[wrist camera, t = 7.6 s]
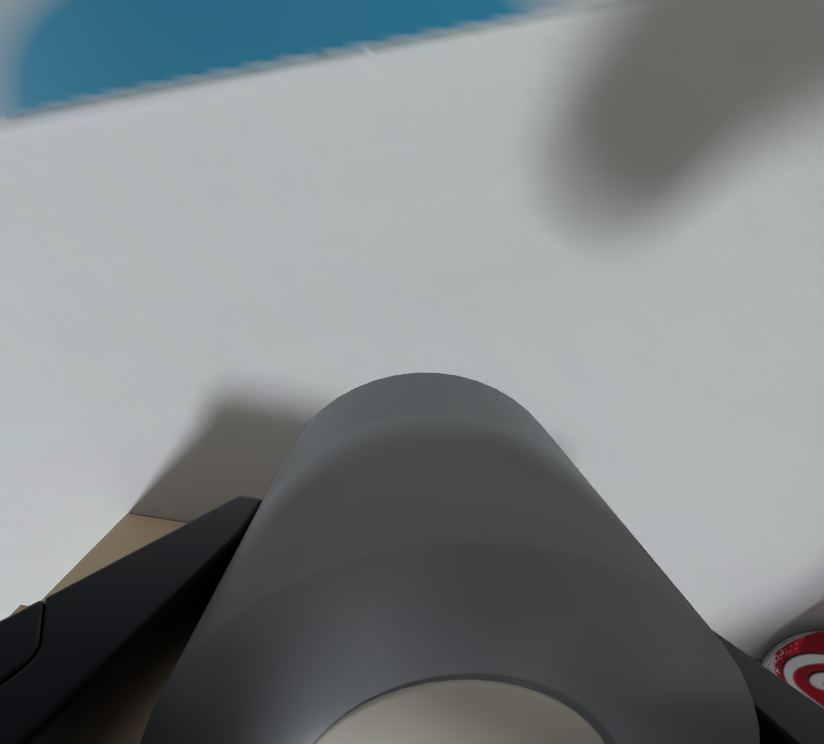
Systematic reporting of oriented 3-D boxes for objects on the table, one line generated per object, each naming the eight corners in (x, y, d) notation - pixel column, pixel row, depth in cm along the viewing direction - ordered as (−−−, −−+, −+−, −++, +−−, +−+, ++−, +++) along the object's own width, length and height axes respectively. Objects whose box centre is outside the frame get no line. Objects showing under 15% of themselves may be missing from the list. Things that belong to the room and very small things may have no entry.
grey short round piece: (607, 406, 9) (880, 609, 4) (521, 648, 10) (636, 1016, 5) (299, 343, 8) (153, 486, 3) (257, 609, 10) (114, 981, 5)
